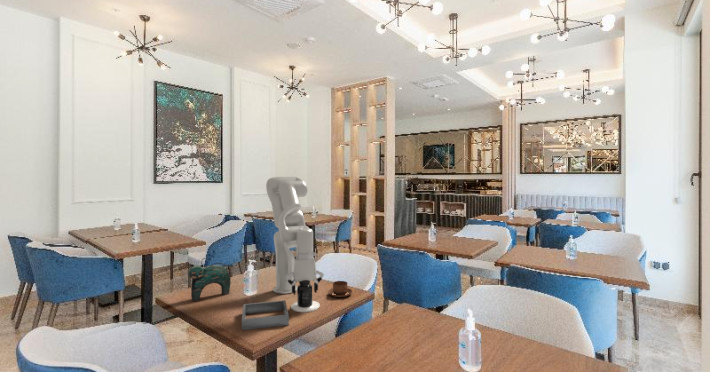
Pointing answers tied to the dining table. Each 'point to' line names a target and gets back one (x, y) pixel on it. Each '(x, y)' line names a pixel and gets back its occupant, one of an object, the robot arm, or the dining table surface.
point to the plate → (307, 309)
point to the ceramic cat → (208, 278)
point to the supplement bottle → (304, 294)
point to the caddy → (264, 321)
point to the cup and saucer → (340, 289)
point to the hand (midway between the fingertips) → (304, 292)
